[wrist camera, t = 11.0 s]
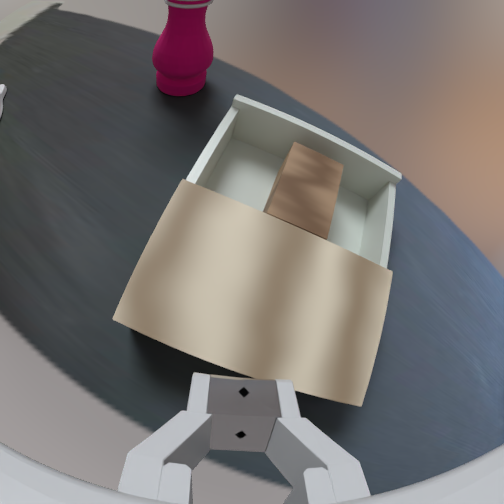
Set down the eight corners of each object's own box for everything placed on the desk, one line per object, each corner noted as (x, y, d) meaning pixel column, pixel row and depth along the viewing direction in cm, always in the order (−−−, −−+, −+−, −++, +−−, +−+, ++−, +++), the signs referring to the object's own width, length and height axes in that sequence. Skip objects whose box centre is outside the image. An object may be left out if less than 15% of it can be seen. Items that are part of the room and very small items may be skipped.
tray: (182, 214, 26) (182, 178, 21) (227, 133, 31) (236, 94, 25) (356, 288, 28) (392, 271, 22) (371, 200, 32) (401, 173, 26)
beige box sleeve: (129, 327, 22) (112, 319, 17) (182, 214, 26) (182, 178, 21) (325, 398, 24) (361, 406, 18) (356, 288, 28) (392, 271, 22)
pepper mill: (205, 101, 32) (236, -53, 13) (147, 98, 30) (149, -56, 12) (211, 69, 34) (239, -62, 16) (159, 65, 33) (168, -65, 14)
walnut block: (267, 212, 22) (294, 141, 25) (252, 237, 26) (278, 171, 29) (327, 239, 22) (343, 165, 25) (303, 259, 27) (322, 191, 30)
